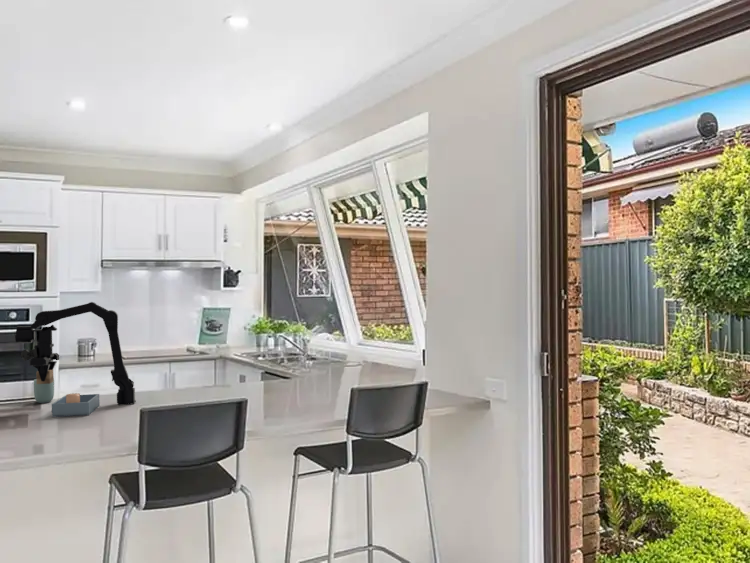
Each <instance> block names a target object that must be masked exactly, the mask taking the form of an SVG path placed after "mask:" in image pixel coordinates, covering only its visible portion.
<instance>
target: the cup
mask: <svg viewBox="0 0 750 563" xmlns="http://www.w3.org/2000/svg"><path fill="white" fill-rule="evenodd" d="M33 396H34V399H35V401H36V403H39V404H47V403H50V402H52V401H53V400H54V397H55V381H54V382H52V383H50V384H37V379H36V378H35V379H33Z"/></svg>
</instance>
